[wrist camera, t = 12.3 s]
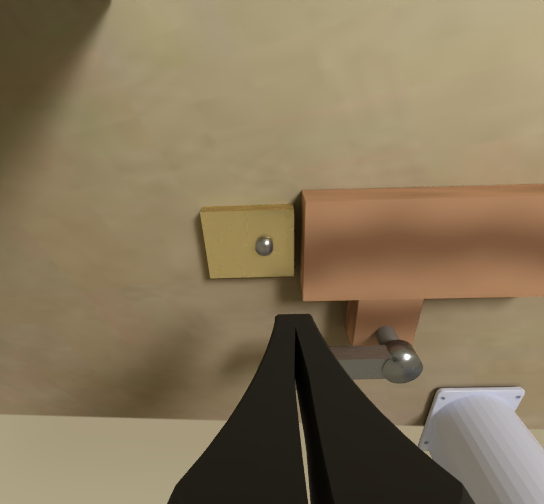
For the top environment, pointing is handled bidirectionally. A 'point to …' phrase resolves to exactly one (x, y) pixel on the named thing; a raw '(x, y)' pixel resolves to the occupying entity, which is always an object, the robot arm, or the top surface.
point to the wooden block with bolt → (249, 240)
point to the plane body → (418, 251)
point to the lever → (380, 361)
